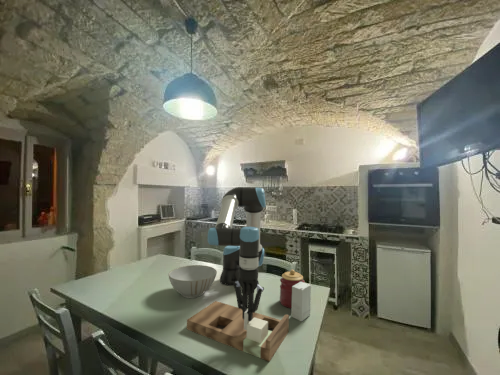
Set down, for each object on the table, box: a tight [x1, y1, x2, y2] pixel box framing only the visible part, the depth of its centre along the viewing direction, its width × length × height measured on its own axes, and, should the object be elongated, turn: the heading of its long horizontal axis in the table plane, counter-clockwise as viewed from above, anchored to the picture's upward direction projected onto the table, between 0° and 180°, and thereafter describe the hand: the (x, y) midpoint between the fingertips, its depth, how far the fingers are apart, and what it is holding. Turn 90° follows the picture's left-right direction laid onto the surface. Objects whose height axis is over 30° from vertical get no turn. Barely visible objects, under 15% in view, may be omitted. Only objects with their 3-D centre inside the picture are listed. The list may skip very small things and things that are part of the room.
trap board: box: [186, 300, 290, 362], centre depth 99 cm, size 38×20×7 cm, turn 62°
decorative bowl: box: [168, 264, 217, 299], centre depth 134 cm, size 27×27×12 cm
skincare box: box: [290, 282, 312, 322], centre depth 111 cm, size 8×6×15 cm
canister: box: [279, 269, 306, 309], centre depth 125 cm, size 13×13×18 cm
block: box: [247, 317, 268, 343], centre depth 88 cm, size 6×6×5 cm
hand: (247, 328), depth 91 cm, fingers closed
